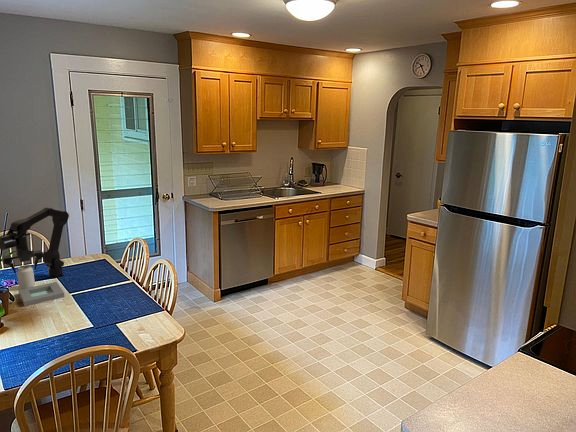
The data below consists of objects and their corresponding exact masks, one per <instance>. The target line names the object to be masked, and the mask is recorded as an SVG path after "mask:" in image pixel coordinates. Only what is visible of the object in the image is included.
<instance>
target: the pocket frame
mask: <svg viewBox="0 0 576 432" xmlns="http://www.w3.org/2000/svg"><path fill="white" fill-rule="evenodd" d="M18 295H19V297H20V300H21V301H22V303H23V305H24V307H29V306H32V305H38V304H41V303H45V301H46V302H49V300H50V301H54V300H58V299H62V298H65V292H64V290H63V289H62V287H61V286H60V285H59V284H58V282H57V281H55V282H54V281H53V282H49V283H44V284H40V285H34V286H33V287H30V288H25V289H21V288H20V289H18Z"/></svg>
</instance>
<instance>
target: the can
mask: <svg viewBox="0 0 576 432" xmlns="http://www.w3.org/2000/svg"><path fill="white" fill-rule="evenodd" d="M16 276H17V281H18V287H19V288H20V289H25V288H30V287H34V286H36V281H35V275H34V267H32V265H30V264H26V265H25V264H24V265H20V266H18V267H17V270H16Z"/></svg>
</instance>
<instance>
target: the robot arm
mask: <svg viewBox="0 0 576 432" xmlns="http://www.w3.org/2000/svg"><path fill="white" fill-rule="evenodd" d="M48 217H51V218H52V220H51V221H52V224H53V228H52V233H51V237H50V241H49V245H48V246H49V247H48V249H47V251H42V250H35V251H34V250H29V245H28V239H27V238H28V237H27V236H31V233H29V232H28V231H29V230H30V229H31V227H32V226H34V225H36V224H37V223H39V222H40V221H42V220H44V219H46V218H48ZM69 217H70V214H69V213H68V211H65V210H58V209H55V208H54V209H53V208H52V207H44V208H43V209H41V210H39V211H38V212H36V213H33V214H32V215H30V216H28V217H26V218H23V219H19V220H16V221H13V222H11V223H10V227H9V228H8V231H7V233H6V235H5V236H0V250H1V251H5V250H9V249H13V248H15V252H16V255H15V256H11V254H10V255H5V256H2V257H1V261H2V264H3V265H6V266H9V267H10V268H11V269H12V271H13V273H14V274H15V275H17V270H16V269H15V265H14V262H13V261H17V260H19V262H20V263H23V262H24V263H25V262H30V261H31V259H32V258H33V271H36V270H37V265H38V263H39V261H40V260H42V262H43V263H44V264H45V266H47V267H48V268H47V271H48V277H49V278H50V279H56V278H60V277H64V273H63V267H64V265H65V262H64V261H63V260H61V259H60V258H61V254H60V251H59V249H60V244H61V239H62V235H63V229H64V227H65V225H66V224H67V223H68V220H69Z"/></svg>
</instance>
